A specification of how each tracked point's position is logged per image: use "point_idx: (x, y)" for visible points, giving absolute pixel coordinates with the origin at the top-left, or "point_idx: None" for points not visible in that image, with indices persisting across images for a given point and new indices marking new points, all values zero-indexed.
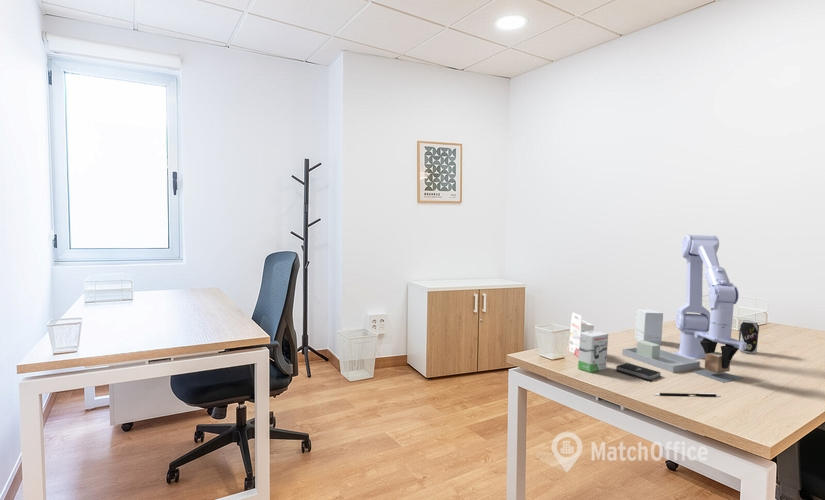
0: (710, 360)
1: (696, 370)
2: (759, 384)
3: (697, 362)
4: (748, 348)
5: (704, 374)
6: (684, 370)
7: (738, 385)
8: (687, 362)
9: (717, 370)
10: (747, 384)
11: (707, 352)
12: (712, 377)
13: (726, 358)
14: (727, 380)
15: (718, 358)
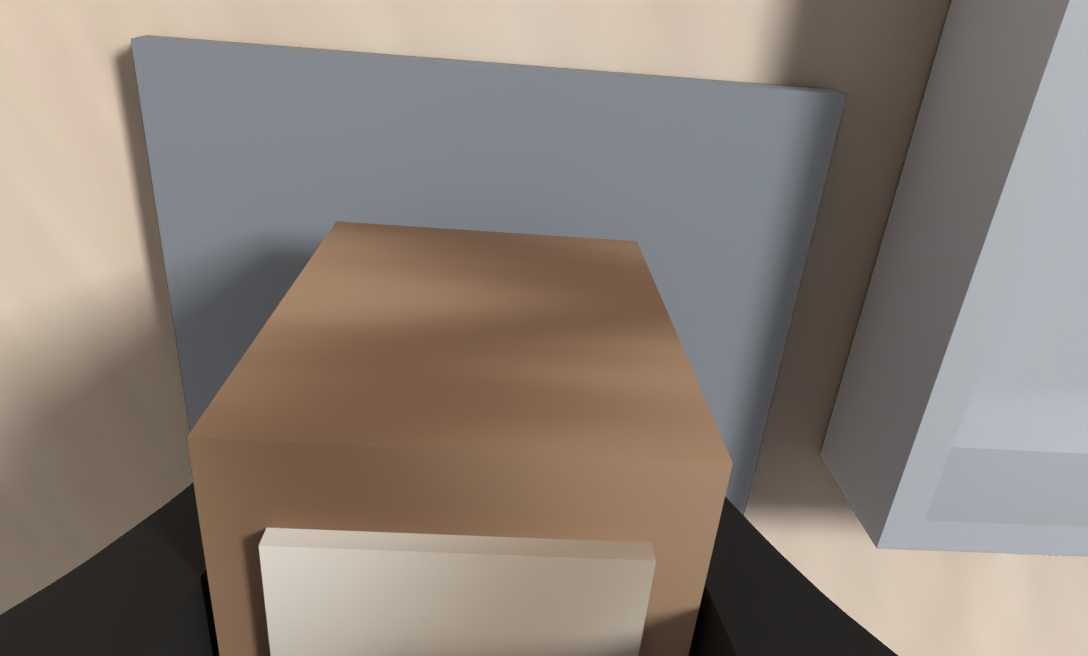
0: (515, 346)
1: (797, 267)
2: (9, 579)
3: (896, 476)
4: None
5: (592, 165)
6: (959, 30)
7: (18, 236)
8: (1058, 474)
9: (326, 244)
10: (37, 428)
11: (742, 616)
12: (409, 126)
13: (59, 597)
14: (192, 237)
15: (209, 411)
